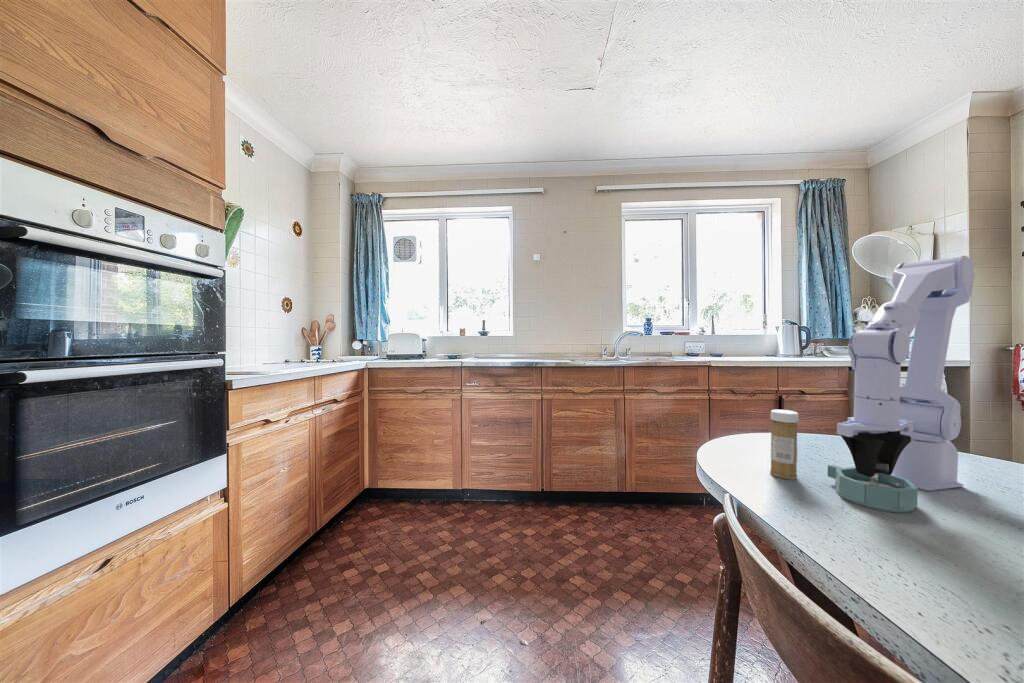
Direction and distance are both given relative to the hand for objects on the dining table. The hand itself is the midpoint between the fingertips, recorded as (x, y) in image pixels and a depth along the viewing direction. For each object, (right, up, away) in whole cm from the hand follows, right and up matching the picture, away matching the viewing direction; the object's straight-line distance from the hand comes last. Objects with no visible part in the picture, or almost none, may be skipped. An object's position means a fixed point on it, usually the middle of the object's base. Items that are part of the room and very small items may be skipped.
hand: (874, 473), depth 66 cm
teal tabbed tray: (0, -4, +1) cm, 5 cm away
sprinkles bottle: (-8, -4, +11) cm, 14 cm away
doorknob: (0, -3, 0) cm, 3 cm away
